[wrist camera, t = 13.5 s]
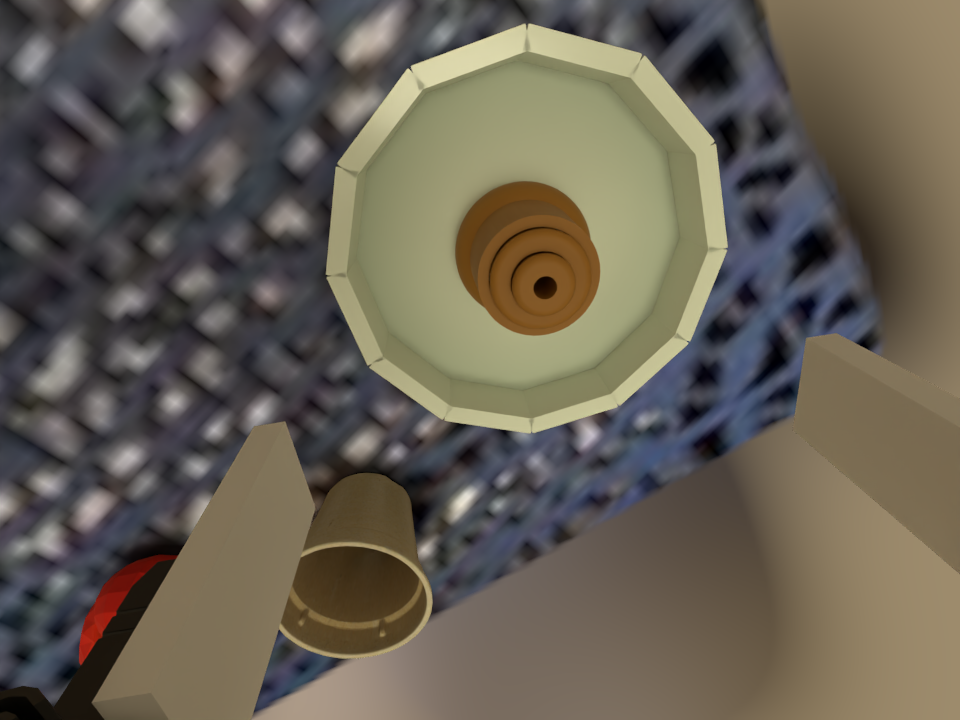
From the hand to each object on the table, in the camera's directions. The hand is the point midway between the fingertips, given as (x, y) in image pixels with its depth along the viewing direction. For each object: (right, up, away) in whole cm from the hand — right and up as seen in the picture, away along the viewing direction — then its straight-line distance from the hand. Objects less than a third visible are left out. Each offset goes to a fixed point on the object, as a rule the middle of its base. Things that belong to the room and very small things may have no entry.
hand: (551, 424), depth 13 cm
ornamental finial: (0, +8, +17) cm, 18 cm away
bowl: (0, +9, +17) cm, 19 cm away
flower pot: (-10, -9, +25) cm, 28 cm away
